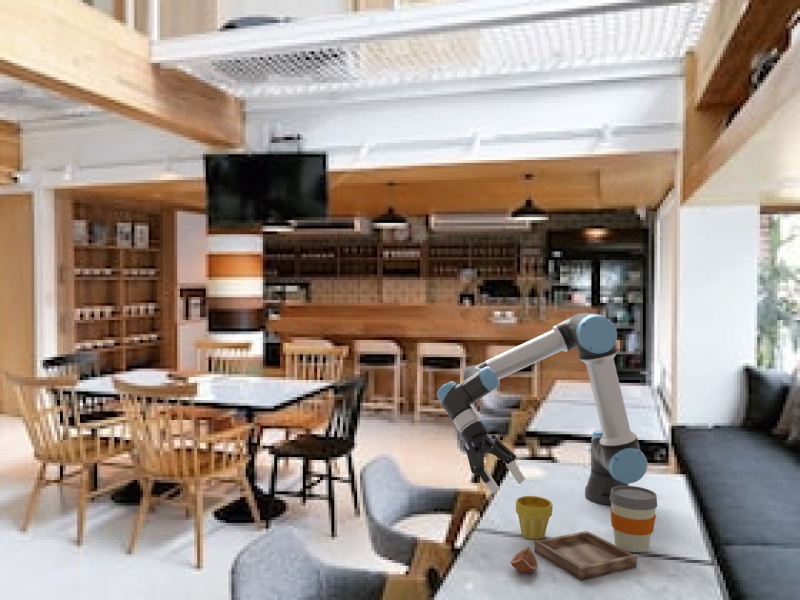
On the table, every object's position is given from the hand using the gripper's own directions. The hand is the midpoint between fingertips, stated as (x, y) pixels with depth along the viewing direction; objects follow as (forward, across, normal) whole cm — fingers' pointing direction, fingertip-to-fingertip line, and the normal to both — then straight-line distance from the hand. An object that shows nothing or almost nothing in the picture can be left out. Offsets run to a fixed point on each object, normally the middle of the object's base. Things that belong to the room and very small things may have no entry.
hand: (509, 486), depth 194 cm
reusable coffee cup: (+31, -15, +14) cm, 37 cm away
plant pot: (+15, -1, -3) cm, 15 cm away
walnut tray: (+28, +4, +10) cm, 30 cm away
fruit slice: (+23, +22, +5) cm, 32 cm away
